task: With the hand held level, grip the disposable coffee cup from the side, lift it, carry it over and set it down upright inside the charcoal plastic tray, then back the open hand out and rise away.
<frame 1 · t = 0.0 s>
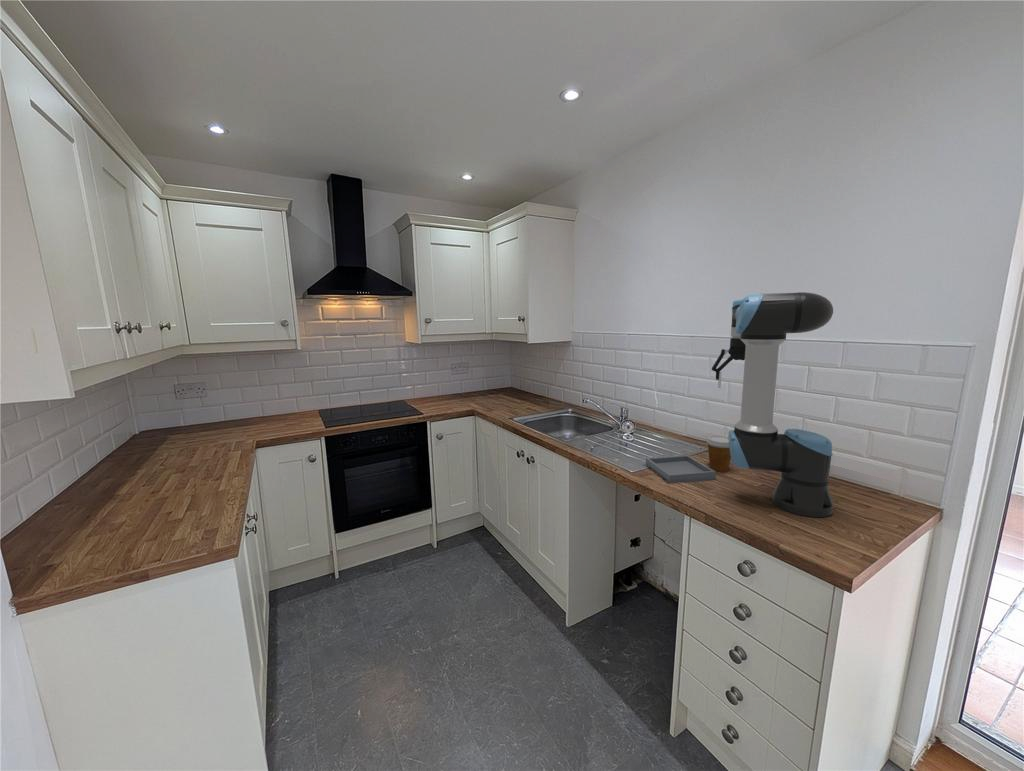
hand: (737, 388, 168), 28 cm above the counter, tool pointing down, fingers open, 13 cm apart
tray: (678, 472, 152), on the counter
disposable coffee cup: (718, 469, 154), on the counter
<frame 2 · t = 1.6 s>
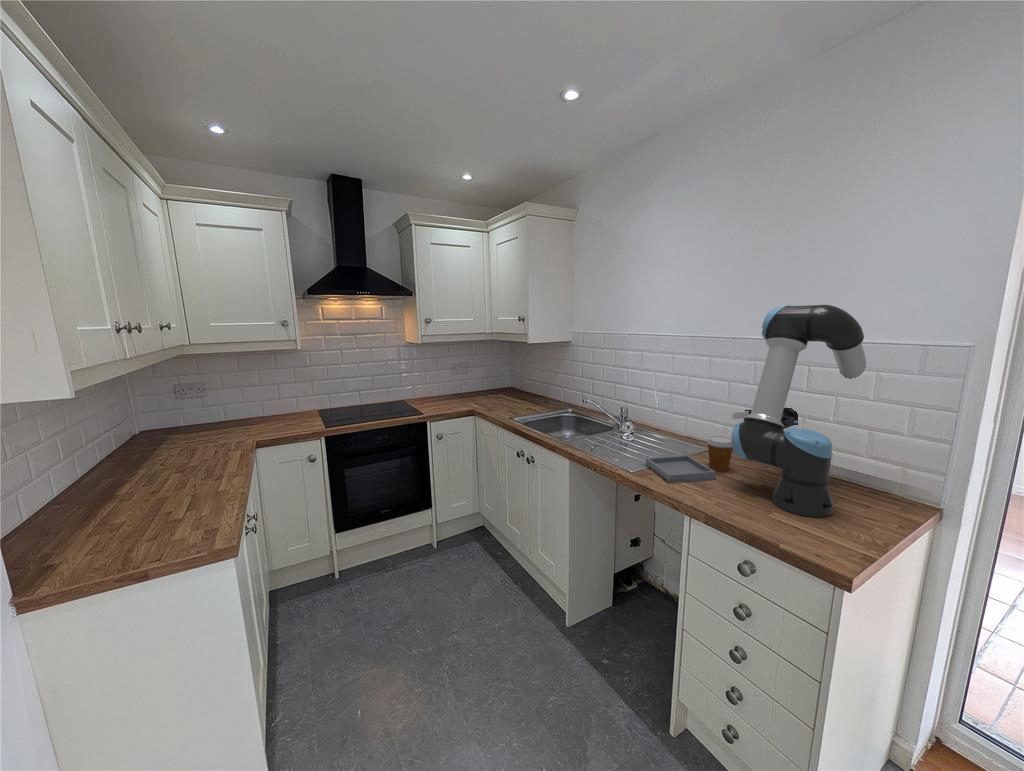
hand: (745, 419, 152), 19 cm above the counter, tool horizontal, fingers open, 13 cm apart
nothing on the counter moved.
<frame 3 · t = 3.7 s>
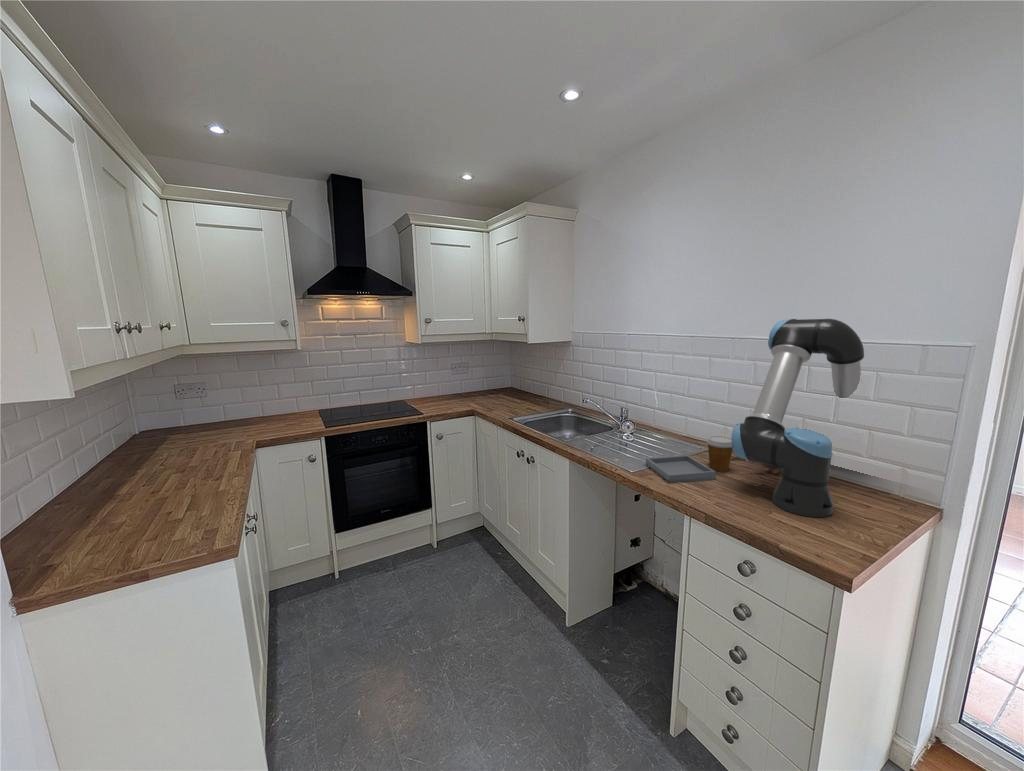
hand: (734, 451, 154), 6 cm above the counter, tool horizontal, fingers open, 13 cm apart
nothing on the counter moved.
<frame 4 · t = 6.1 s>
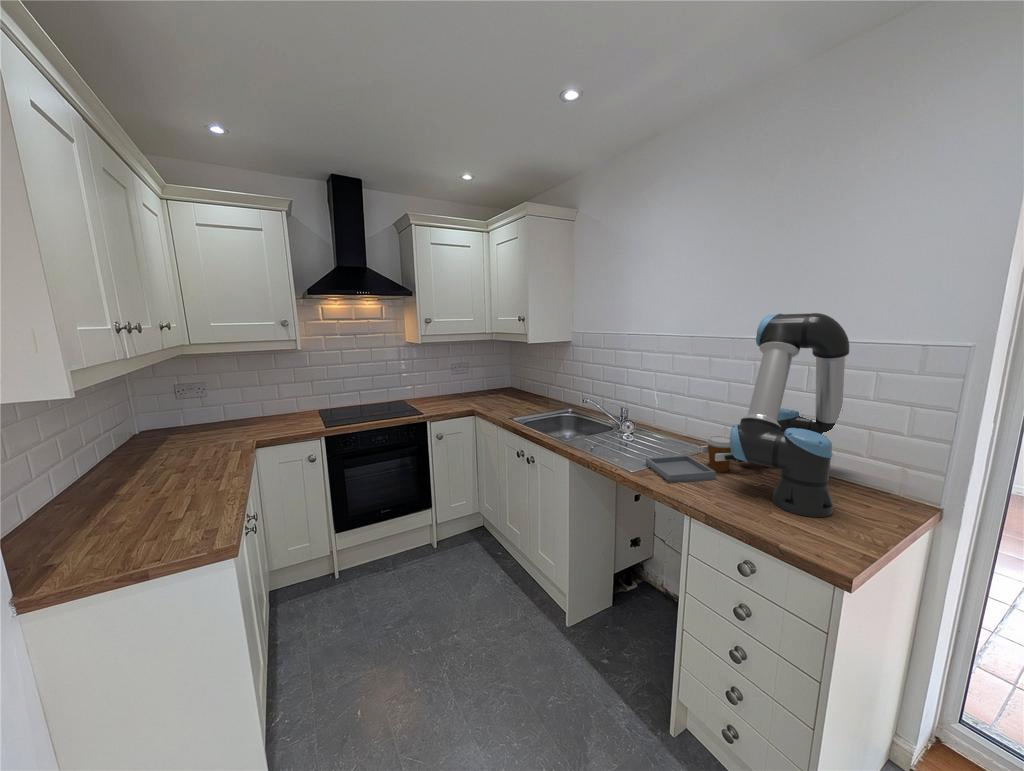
hand: (708, 453, 152), 7 cm above the counter, tool horizontal, fingers closed on disposable coffee cup, 8 cm apart
disposable coffee cup: (718, 469, 154), on the counter, touching gripper
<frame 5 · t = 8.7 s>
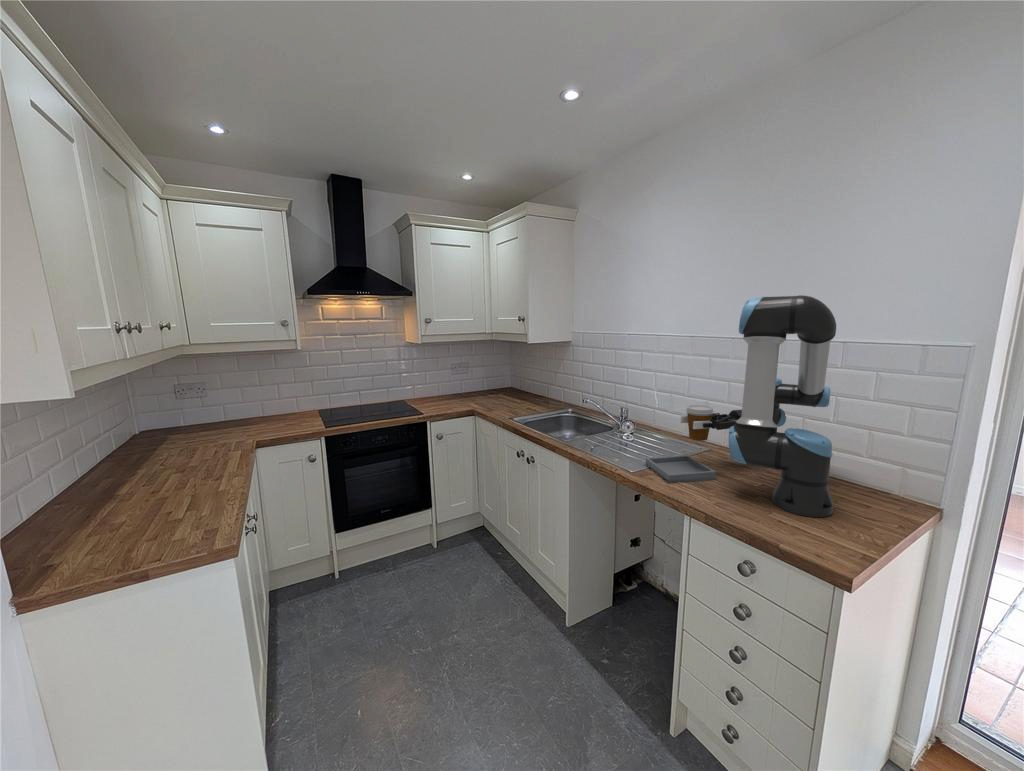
hand: (687, 422, 151), 19 cm above the counter, tool horizontal, fingers closed on disposable coffee cup, 8 cm apart
disposable coffee cup: (698, 438, 152), point 12 cm above the counter, touching gripper
when the fingers open (9 cm above the counter, at t = 11.7 s): disposable coffee cup moves 3 cm, point 2 cm above the counter.
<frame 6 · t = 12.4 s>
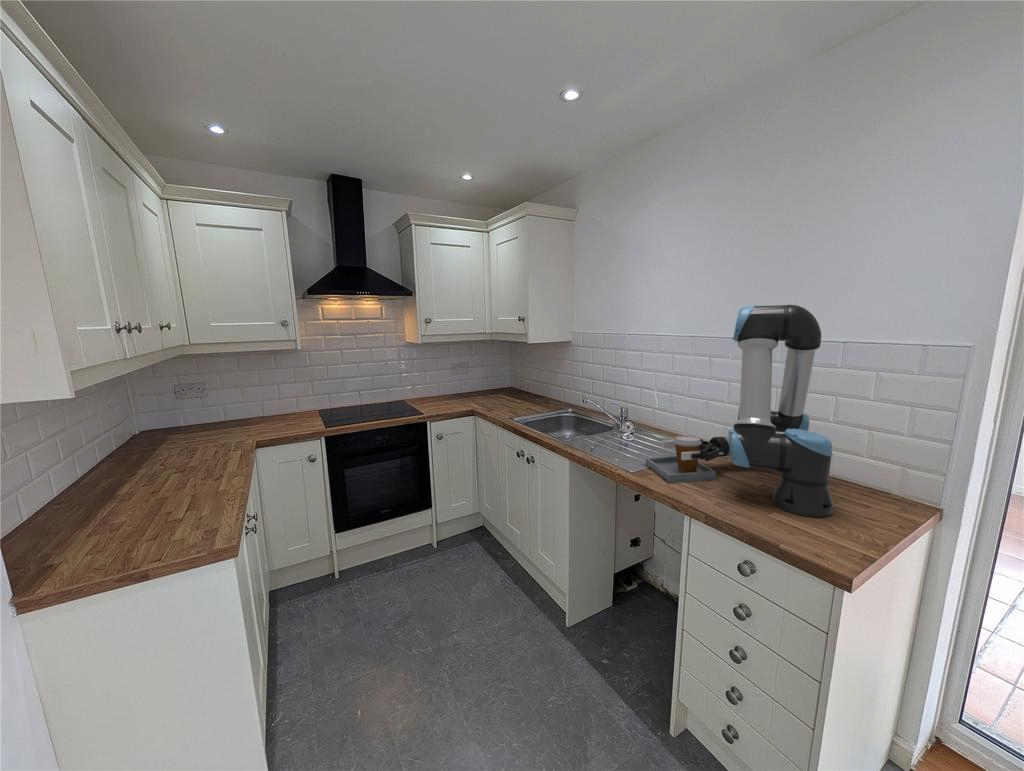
hand: (671, 450, 150), 9 cm above the counter, tool horizontal, fingers open, 13 cm apart
disposable coffee cup: (687, 470, 149), point 2 cm above the counter, touching gripper
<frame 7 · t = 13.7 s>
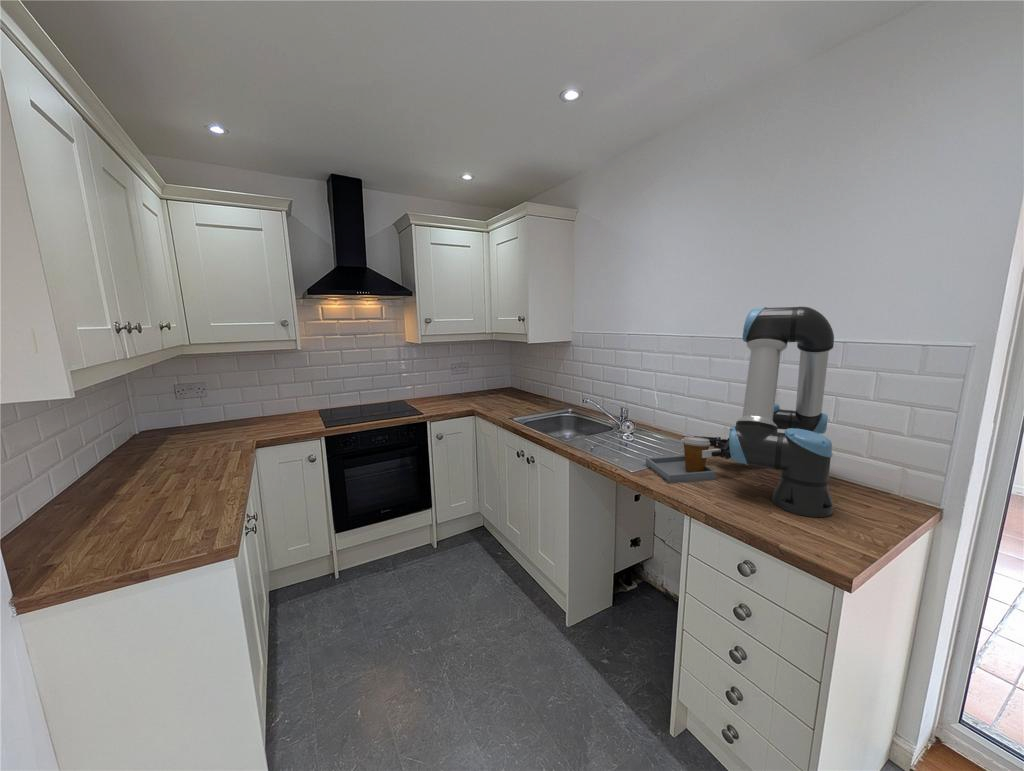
hand: (691, 448, 151), 9 cm above the counter, tool horizontal, fingers open, 13 cm apart
disposable coffee cup: (694, 470, 149), point 1 cm above the counter, touching tray
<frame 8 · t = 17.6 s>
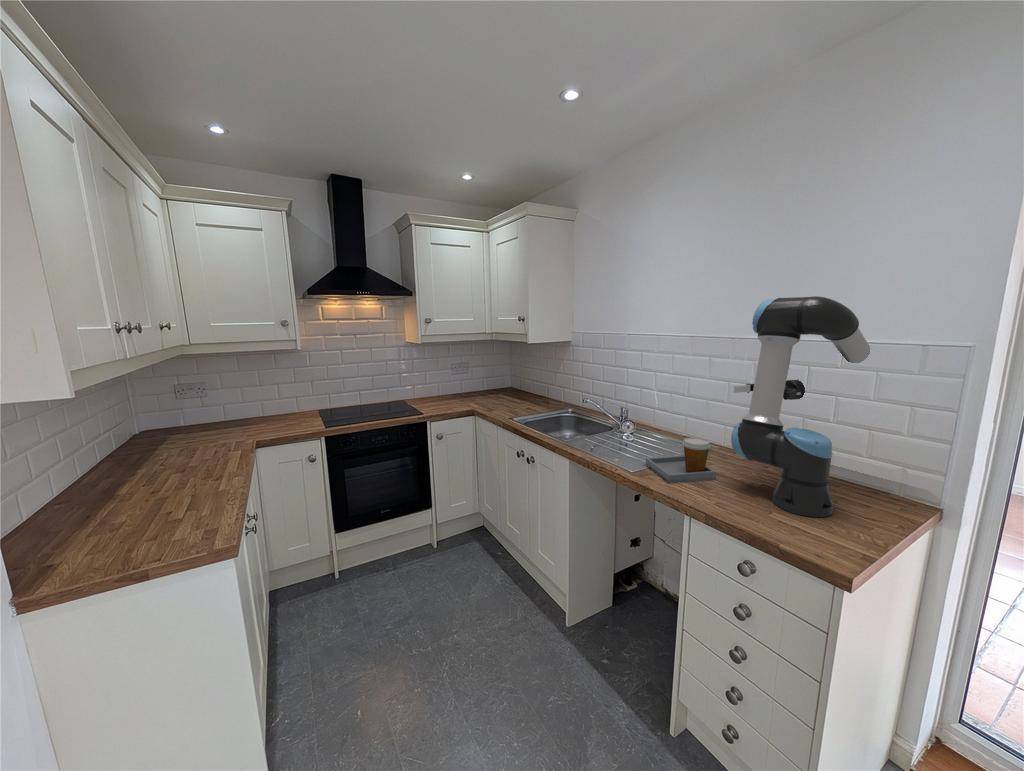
hand: (746, 392, 149), 30 cm above the counter, tool horizontal, fingers open, 13 cm apart
at the end: disposable coffee cup inside the target area on the tray (5.5 cm from its centre), point 0.8 cm above the tray's base; disposable coffee cup tilted 0°; the gripper is holding nothing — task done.
